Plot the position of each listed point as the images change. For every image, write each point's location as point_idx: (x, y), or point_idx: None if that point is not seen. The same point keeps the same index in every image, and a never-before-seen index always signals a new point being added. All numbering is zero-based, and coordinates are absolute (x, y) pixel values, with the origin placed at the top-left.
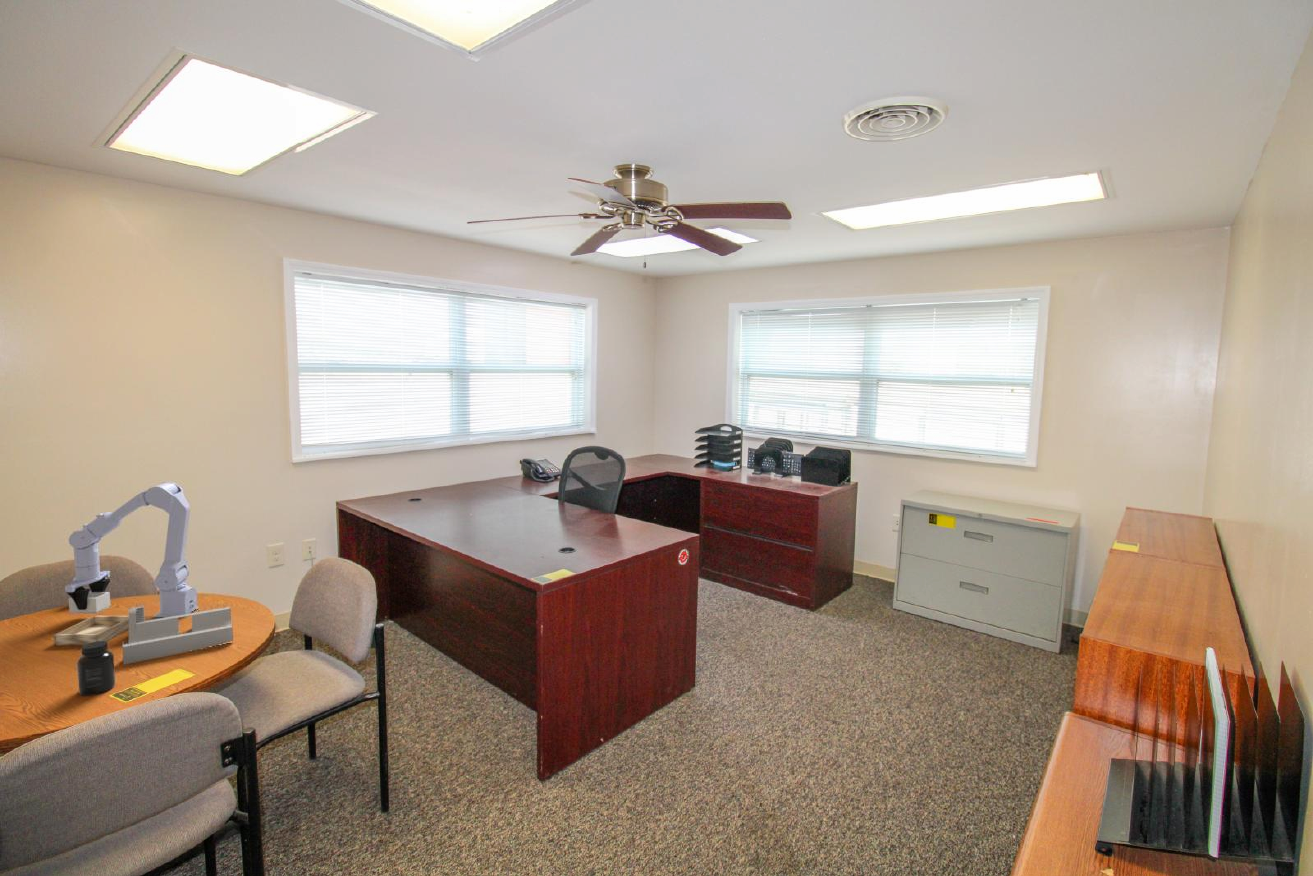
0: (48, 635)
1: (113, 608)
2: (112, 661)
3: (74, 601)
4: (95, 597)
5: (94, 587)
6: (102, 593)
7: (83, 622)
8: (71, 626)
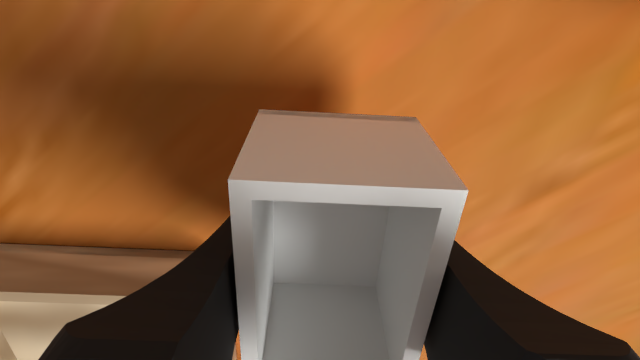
0: (48, 110)
1: (511, 186)
2: None
3: (194, 255)
4: (403, 272)
5: (461, 351)
6: (398, 358)
7: (114, 301)
8: (30, 292)
